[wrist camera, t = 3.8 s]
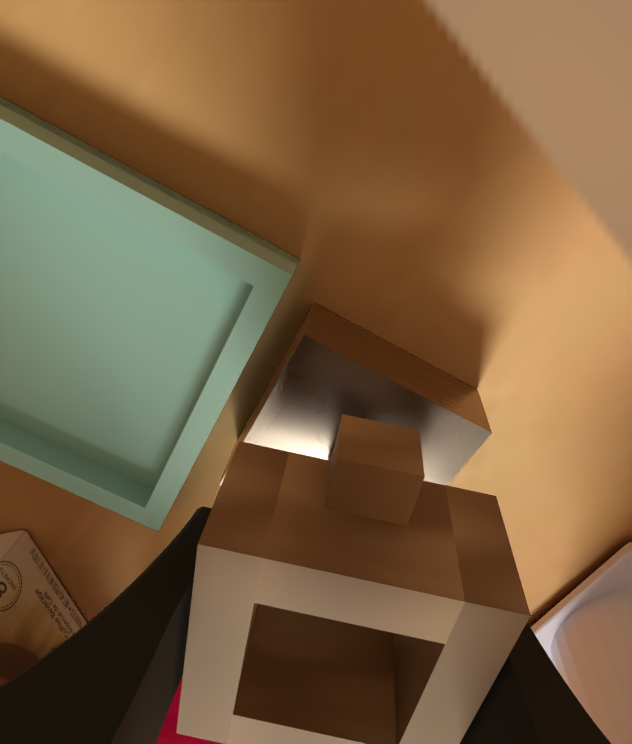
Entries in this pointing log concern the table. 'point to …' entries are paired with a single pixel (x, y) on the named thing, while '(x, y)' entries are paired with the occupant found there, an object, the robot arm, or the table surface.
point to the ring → (346, 599)
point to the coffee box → (30, 606)
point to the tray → (117, 319)
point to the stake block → (364, 397)
